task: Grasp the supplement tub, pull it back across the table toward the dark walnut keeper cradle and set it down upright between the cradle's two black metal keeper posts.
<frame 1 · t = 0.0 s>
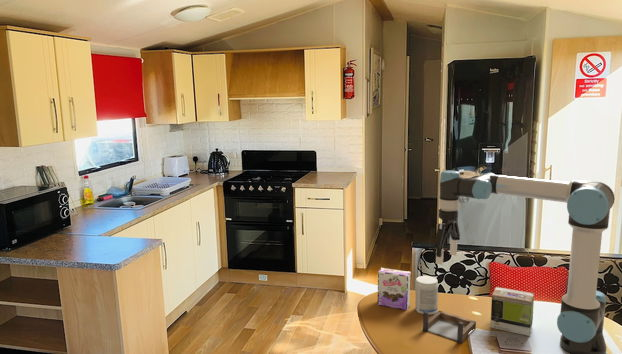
hand: (446, 259, 194), 28 cm above the table, fingers open, 13 cm apart
supplement tub: (426, 311, 210), on the table
keeper cradle: (448, 329, 193), on the table
tea box: (511, 327, 195), on the table
candy box: (393, 305, 216), on the table
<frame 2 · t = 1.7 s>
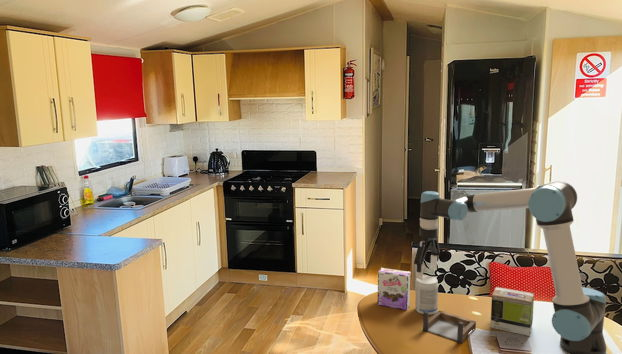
hand: (426, 274, 207), 17 cm above the table, fingers open, 13 cm apart
nothing on the table moved.
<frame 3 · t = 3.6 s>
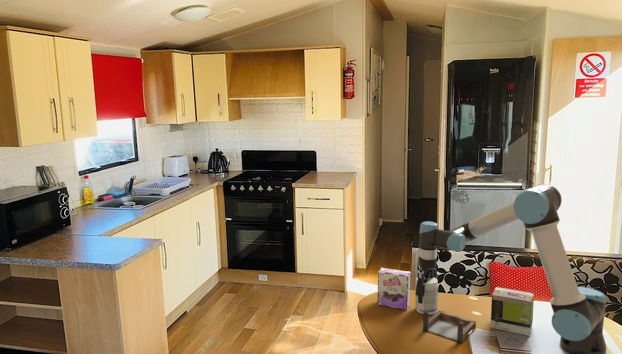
hand: (426, 305, 210), 3 cm above the table, fingers closed on supplement tub, 9 cm apart
supplement tub: (426, 311, 210), on the table, touching gripper
everything else where it was.
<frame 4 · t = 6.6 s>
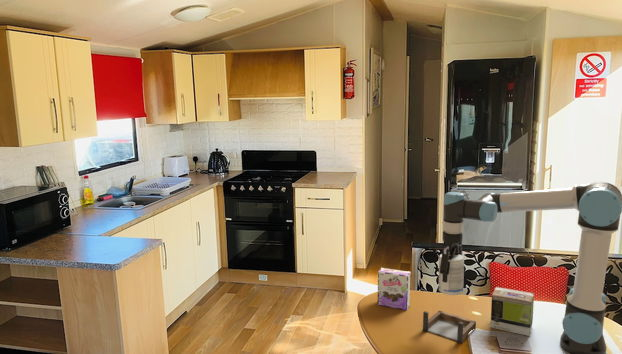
hand: (450, 285, 190), 19 cm above the table, fingers closed on supplement tub, 9 cm apart
supplement tub: (450, 291, 190), point 17 cm above the table, touching gripper
everything else where it was.
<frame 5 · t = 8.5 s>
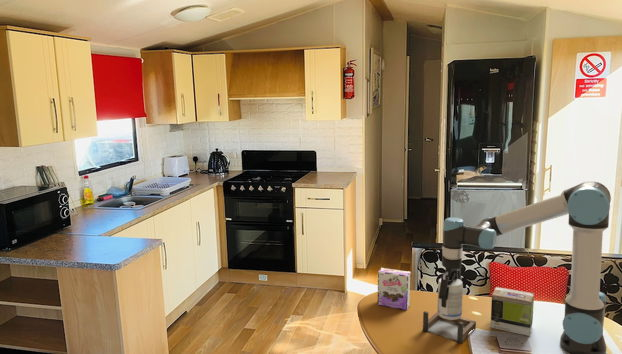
hand: (449, 309, 192), 9 cm above the table, fingers closed on supplement tub, 9 cm apart
supplement tub: (449, 315, 192), point 6 cm above the table, touching gripper
everything else where it was.
when the fingers open (6 cm above the table, at t = 9.8 s): supplement tub drops 2 cm, resting on keeper cradle.
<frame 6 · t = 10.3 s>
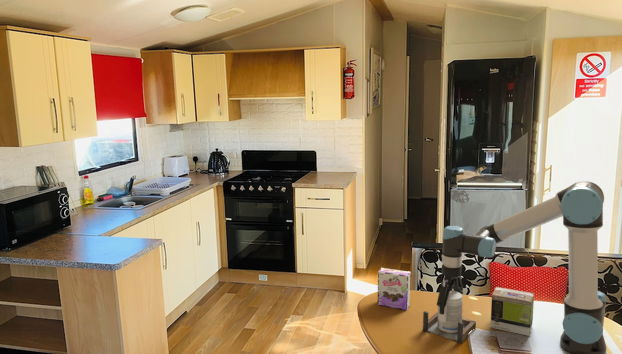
hand: (449, 314, 192), 7 cm above the table, fingers open, 13 cm apart
supplement tub: (449, 328, 193), resting on keeper cradle
everything else where it was.
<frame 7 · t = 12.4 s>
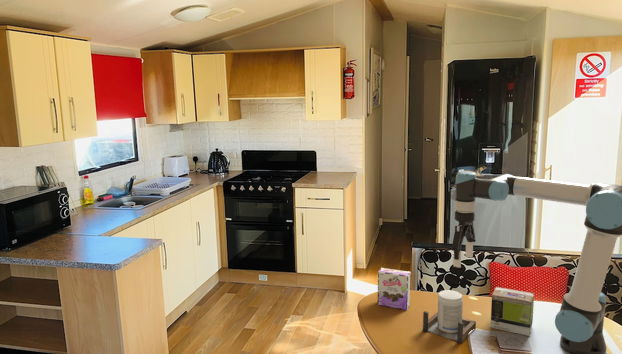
hand: (463, 261, 192), 28 cm above the table, fingers open, 13 cm apart
nothing on the table moved.
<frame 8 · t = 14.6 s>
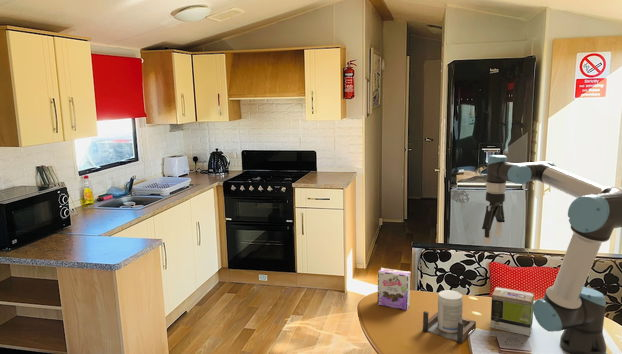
hand: (492, 240, 203), 33 cm above the table, fingers open, 13 cm apart
nothing on the table moved.
at the end: supplement tub inside the target area on the keeper cradle (0.3 cm from its centre), point 0.4 cm above the keeper cradle's base; supplement tub tilted 0°; the gripper is holding nothing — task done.
